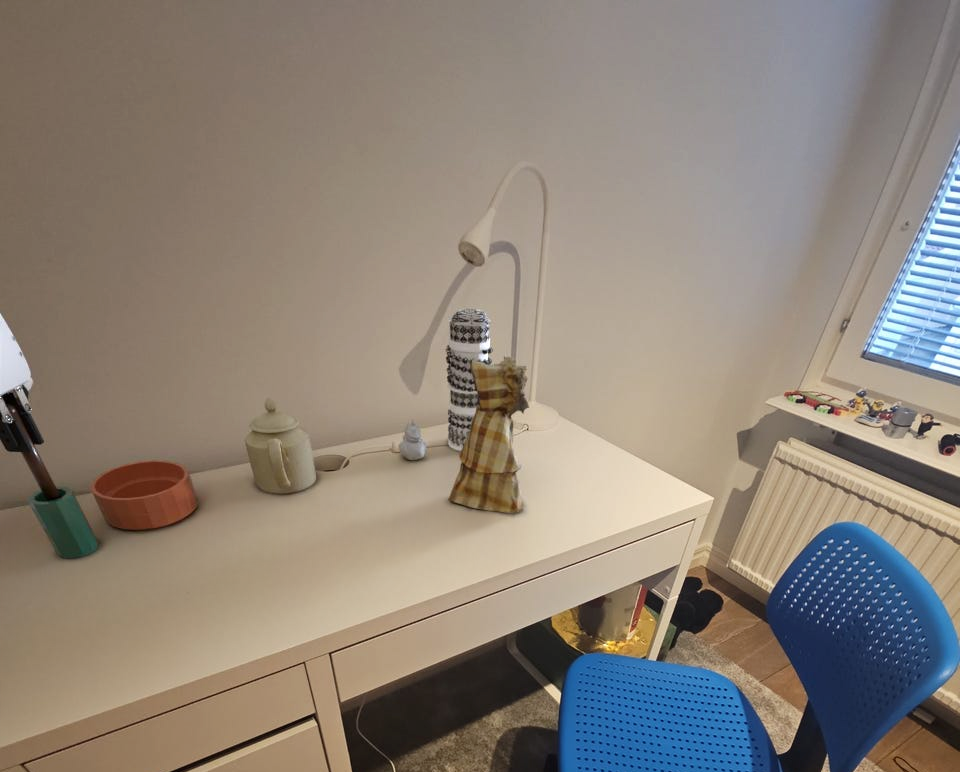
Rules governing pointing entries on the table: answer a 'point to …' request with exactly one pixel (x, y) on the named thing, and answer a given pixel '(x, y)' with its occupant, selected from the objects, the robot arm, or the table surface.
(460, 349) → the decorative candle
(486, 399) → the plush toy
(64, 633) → the table surface
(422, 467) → the table surface
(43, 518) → the stick holder
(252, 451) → the sugar bowl
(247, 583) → the table surface
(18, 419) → the stirring stick
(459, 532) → the table surface
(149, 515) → the mixing bowl
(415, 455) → the grey figurine
